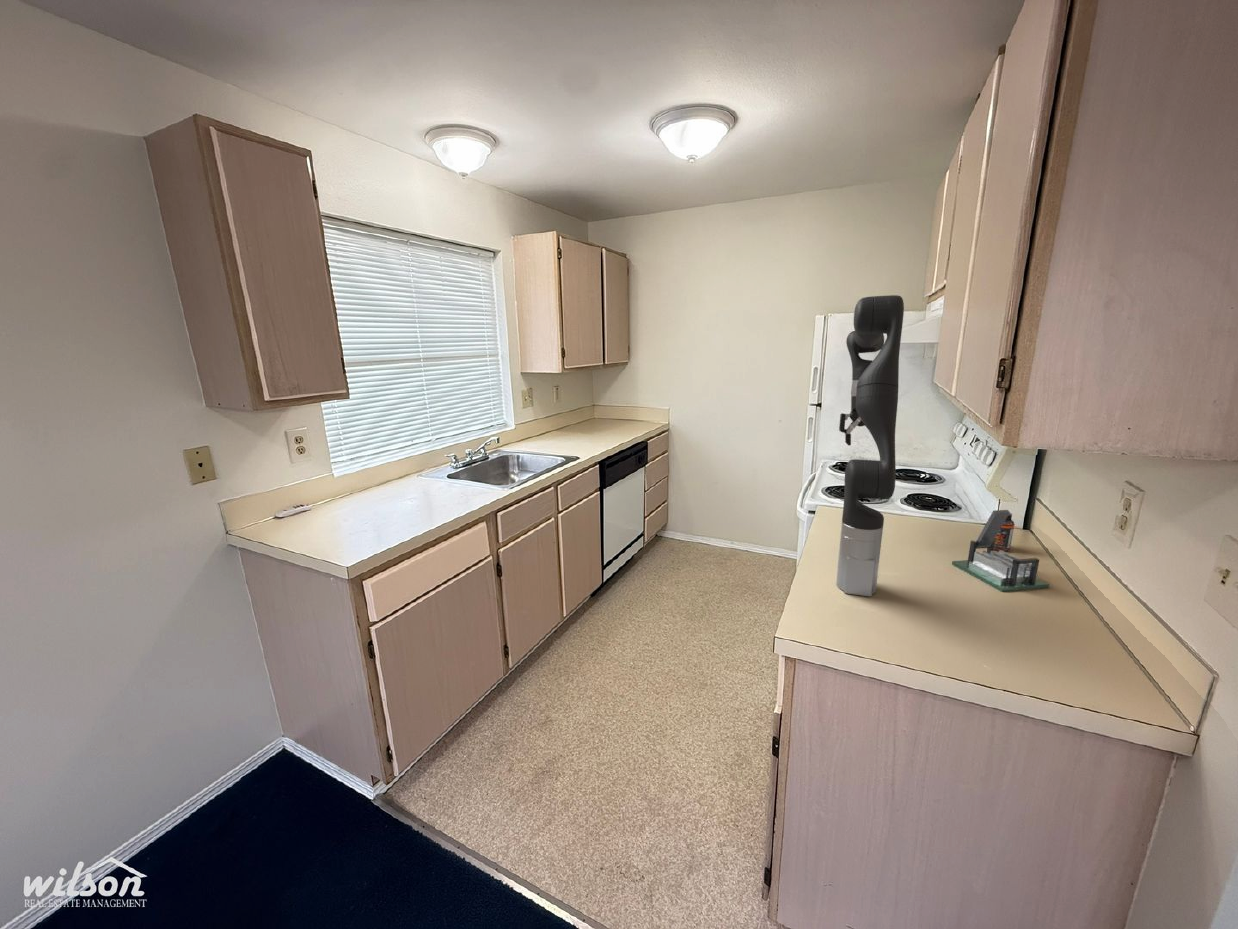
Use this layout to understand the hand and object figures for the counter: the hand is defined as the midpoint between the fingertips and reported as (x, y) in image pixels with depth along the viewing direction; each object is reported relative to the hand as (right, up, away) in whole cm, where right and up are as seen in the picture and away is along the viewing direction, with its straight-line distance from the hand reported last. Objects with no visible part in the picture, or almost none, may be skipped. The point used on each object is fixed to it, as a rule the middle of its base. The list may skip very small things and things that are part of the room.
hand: (863, 444), depth 158 cm
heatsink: (+22, -36, -28) cm, 50 cm away
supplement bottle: (+35, -32, -11) cm, 48 cm away
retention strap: (+21, -29, -24) cm, 43 cm away
